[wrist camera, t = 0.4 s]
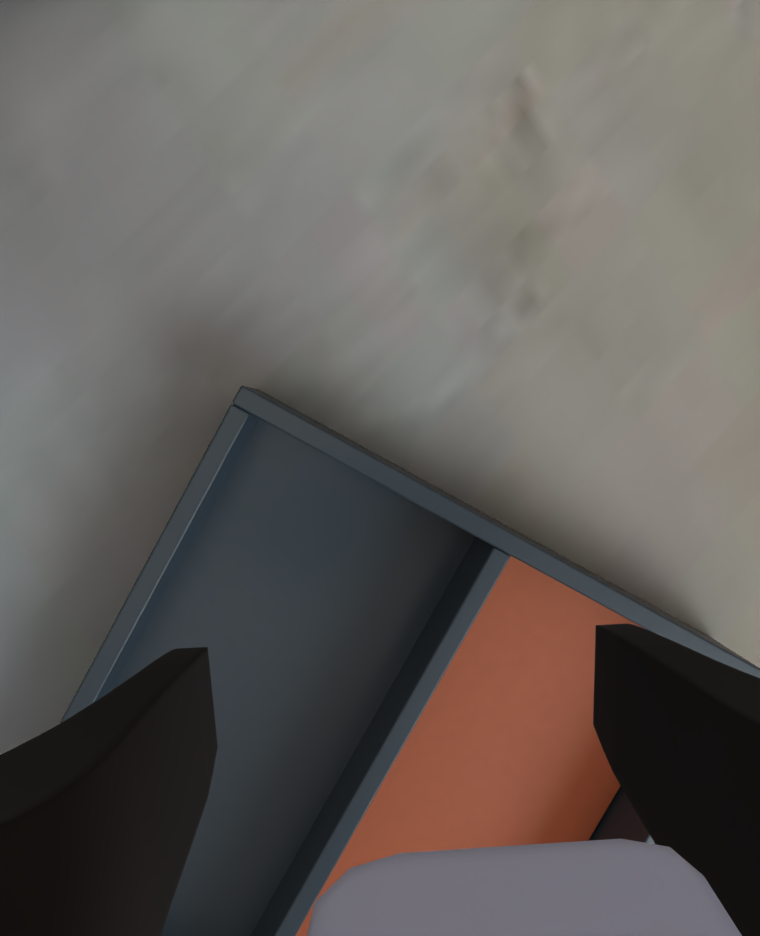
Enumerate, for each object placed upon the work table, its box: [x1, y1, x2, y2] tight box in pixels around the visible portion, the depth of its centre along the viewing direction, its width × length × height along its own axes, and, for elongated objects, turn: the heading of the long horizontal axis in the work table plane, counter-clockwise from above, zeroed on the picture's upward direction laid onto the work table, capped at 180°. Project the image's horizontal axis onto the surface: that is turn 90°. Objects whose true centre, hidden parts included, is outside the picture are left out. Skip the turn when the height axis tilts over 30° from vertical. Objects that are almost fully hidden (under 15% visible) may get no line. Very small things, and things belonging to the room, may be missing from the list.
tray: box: [60, 386, 760, 936], centre depth 22 cm, size 19×18×3 cm
